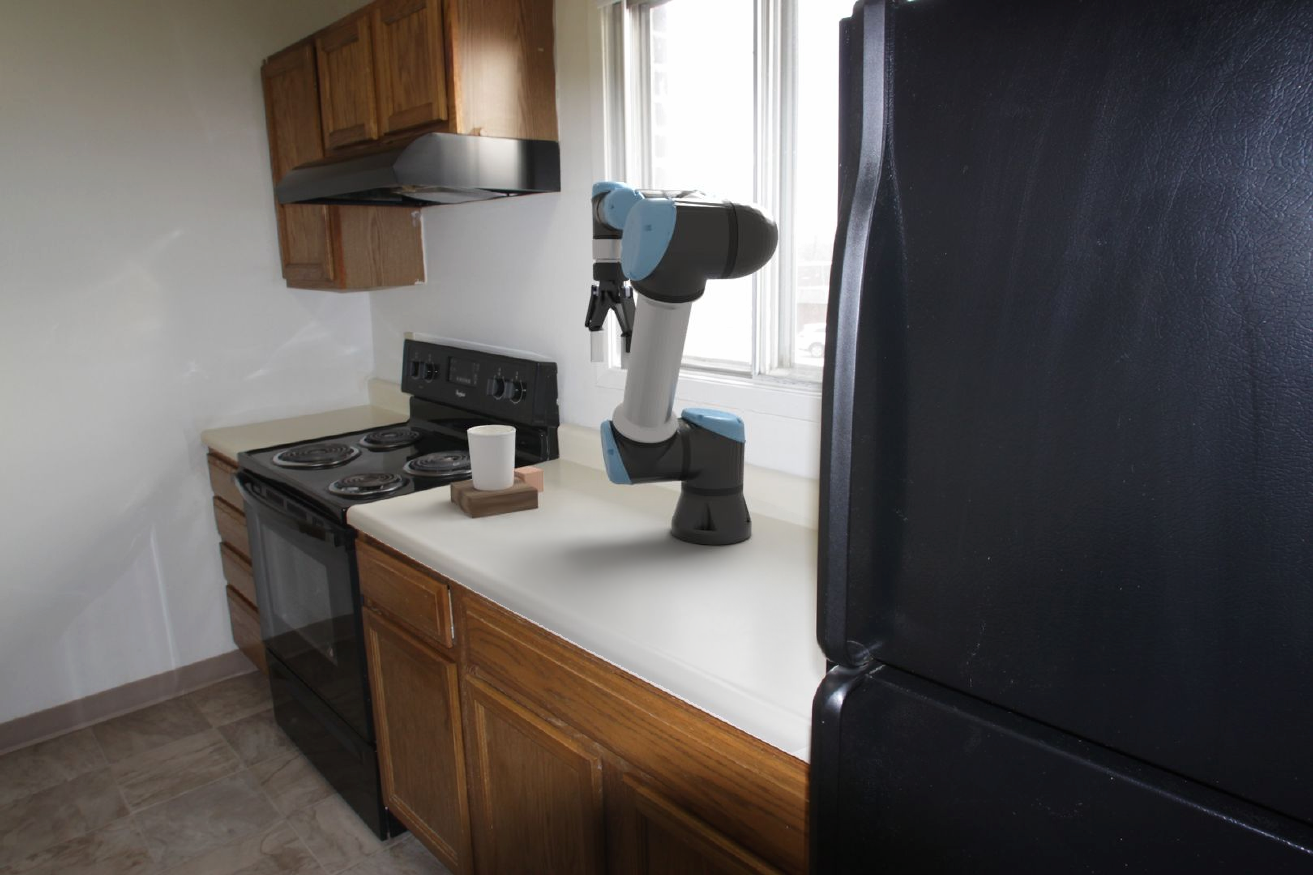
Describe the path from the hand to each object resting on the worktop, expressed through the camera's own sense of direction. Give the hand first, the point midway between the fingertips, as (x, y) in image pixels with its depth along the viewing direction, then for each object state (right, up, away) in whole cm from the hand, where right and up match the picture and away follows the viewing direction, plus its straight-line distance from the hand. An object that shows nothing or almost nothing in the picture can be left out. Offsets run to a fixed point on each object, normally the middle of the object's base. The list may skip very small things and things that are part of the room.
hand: (611, 365), depth 172 cm
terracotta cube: (-19, -27, +11) cm, 35 cm away
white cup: (-25, -25, 0) cm, 35 cm away
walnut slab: (-25, -29, +1) cm, 38 cm away
